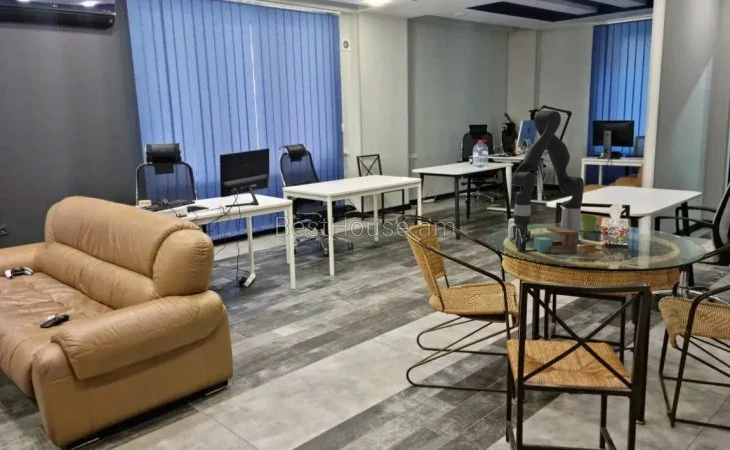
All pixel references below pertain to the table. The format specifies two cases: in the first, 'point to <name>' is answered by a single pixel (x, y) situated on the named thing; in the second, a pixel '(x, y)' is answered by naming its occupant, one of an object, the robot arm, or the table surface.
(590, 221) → the plant pot
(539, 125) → the robot arm
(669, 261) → the table surface
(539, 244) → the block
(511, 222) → the mug
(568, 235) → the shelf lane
